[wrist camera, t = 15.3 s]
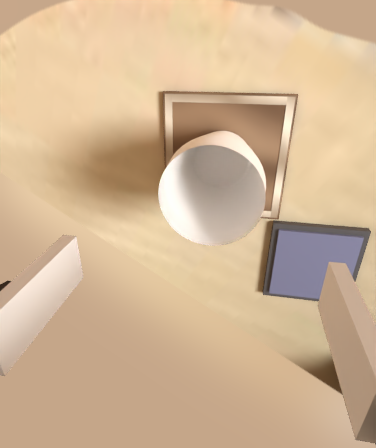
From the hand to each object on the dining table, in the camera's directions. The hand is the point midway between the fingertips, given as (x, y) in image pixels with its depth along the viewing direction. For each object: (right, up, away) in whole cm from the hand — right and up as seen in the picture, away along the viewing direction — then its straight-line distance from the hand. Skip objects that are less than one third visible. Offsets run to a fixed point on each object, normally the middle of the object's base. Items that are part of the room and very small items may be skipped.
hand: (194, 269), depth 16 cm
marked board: (+4, +10, +20) cm, 23 cm away
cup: (+4, +10, +19) cm, 22 cm away
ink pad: (+16, -3, +24) cm, 29 cm away
